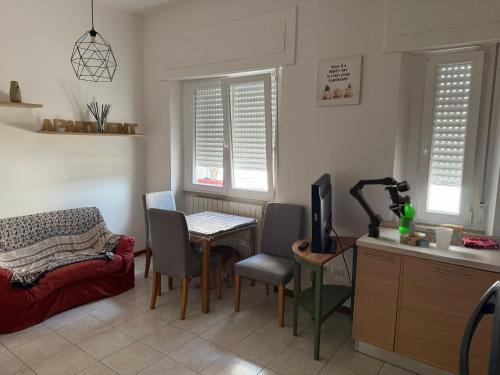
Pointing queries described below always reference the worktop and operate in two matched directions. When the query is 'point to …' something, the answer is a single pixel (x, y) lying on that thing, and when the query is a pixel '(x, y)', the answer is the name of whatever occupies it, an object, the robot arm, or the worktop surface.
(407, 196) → the robot arm
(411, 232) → the pusher
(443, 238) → the foam cup
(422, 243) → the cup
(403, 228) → the plastic bottle
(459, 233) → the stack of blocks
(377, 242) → the worktop surface
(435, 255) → the worktop surface
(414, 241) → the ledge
